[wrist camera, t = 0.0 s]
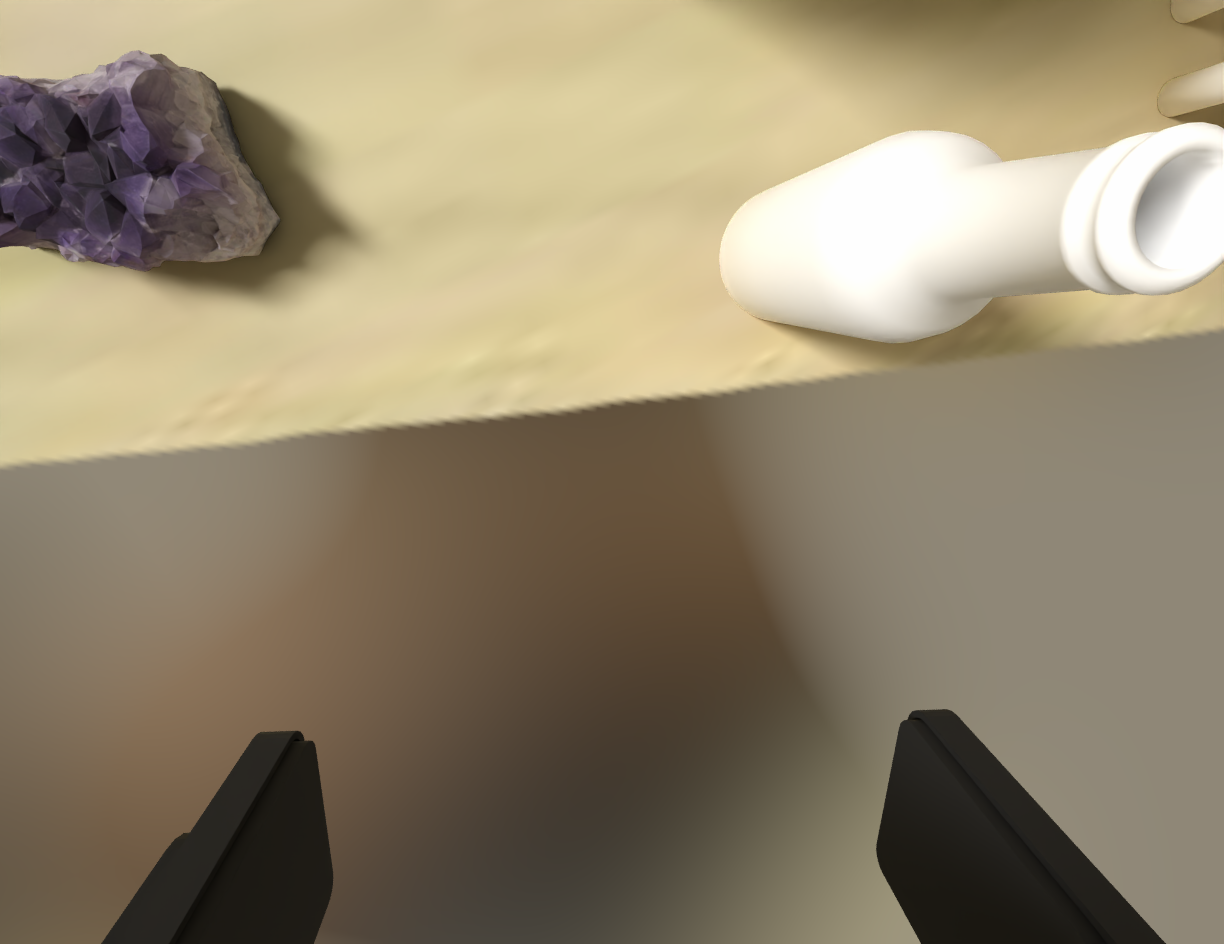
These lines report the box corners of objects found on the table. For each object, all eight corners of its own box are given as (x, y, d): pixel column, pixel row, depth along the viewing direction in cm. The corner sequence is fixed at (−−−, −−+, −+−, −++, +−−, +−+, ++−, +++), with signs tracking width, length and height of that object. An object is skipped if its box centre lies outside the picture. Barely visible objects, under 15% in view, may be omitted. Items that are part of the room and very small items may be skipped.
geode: (-13, 296, 41) (-207, 273, 31) (-56, 105, 39) (-276, 16, 29) (299, 278, 41) (207, 250, 31) (272, 89, 39) (165, -5, 29)
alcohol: (835, 179, 43) (1401, -29, 14) (840, 309, 45) (1323, 360, 17) (709, 198, 42) (1024, 28, 14) (722, 329, 45) (1007, 415, 16)
